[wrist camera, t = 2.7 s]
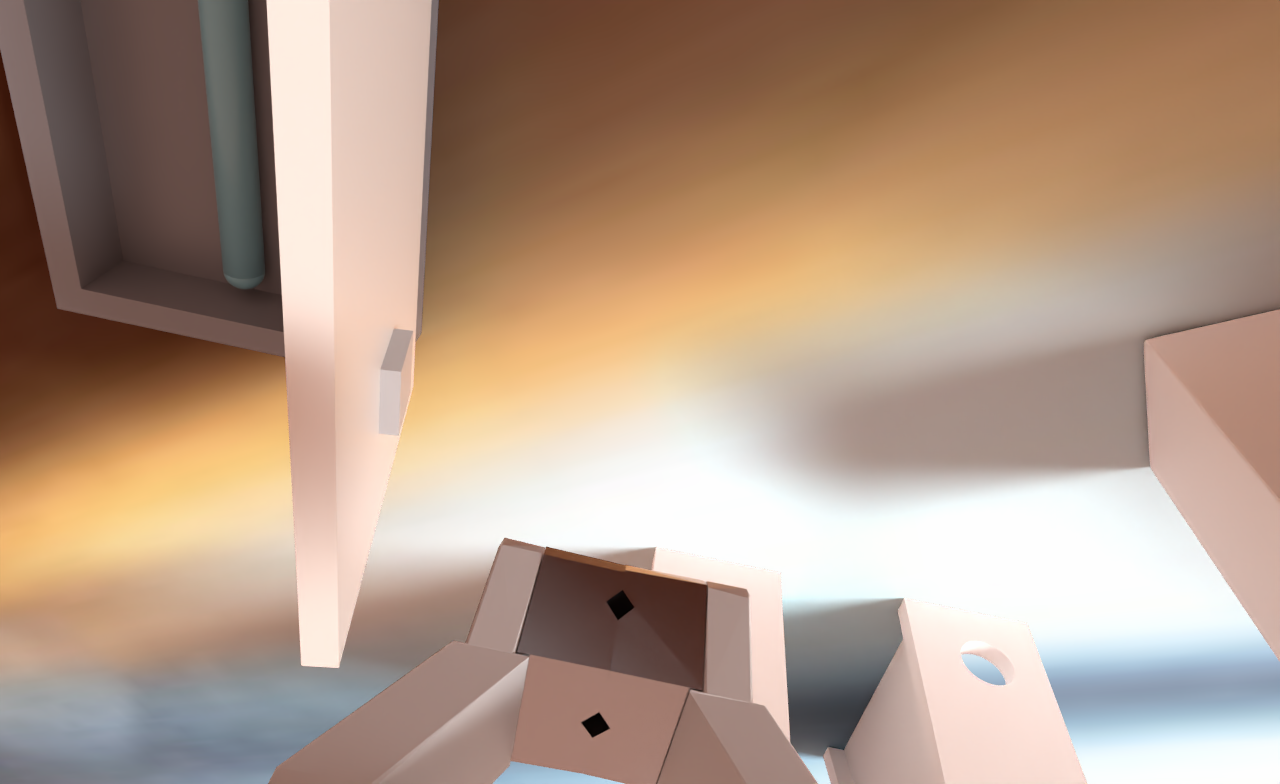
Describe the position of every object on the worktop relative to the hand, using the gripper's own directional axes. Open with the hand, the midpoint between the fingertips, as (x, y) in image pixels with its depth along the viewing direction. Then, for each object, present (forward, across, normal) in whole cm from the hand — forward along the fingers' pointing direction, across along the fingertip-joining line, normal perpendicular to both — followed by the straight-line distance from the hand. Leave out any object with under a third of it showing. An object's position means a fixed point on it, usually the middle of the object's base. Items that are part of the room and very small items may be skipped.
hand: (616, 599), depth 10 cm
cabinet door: (+14, +9, 0) cm, 17 cm away
